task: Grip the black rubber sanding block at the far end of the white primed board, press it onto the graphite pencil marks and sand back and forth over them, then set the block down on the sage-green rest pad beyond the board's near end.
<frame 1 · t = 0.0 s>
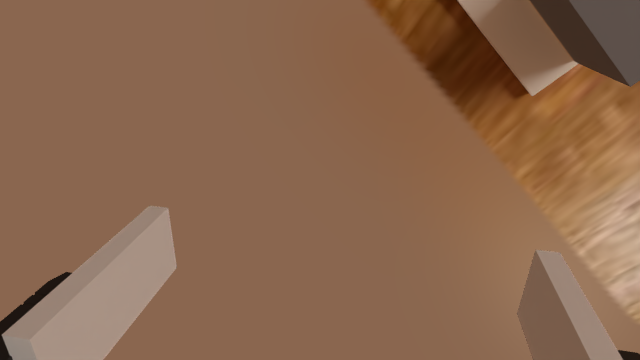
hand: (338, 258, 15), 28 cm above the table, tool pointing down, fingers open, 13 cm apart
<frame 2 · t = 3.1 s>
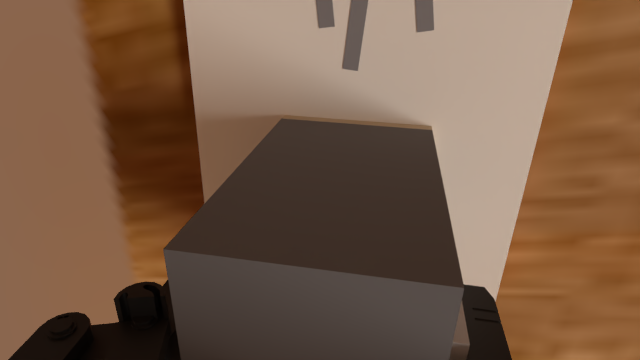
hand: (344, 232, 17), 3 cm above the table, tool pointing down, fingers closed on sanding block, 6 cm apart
primed board: (362, 52, 17), on the table
sanding block: (350, 206, 19), point 1 cm above the table, touching gripper, primed board
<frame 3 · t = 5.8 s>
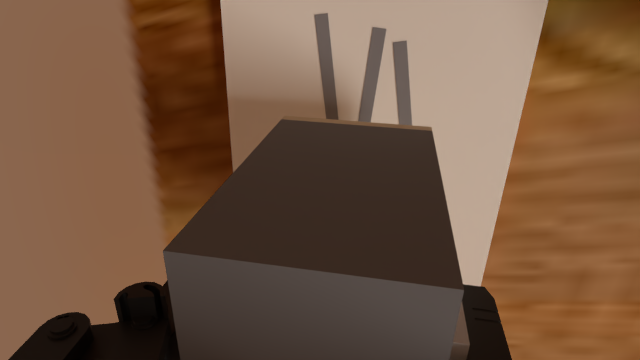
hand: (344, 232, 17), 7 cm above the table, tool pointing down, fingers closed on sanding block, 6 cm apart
primed board: (362, 170, 23), on the table
sanding block: (350, 207, 19), point 5 cm above the table, touching gripper
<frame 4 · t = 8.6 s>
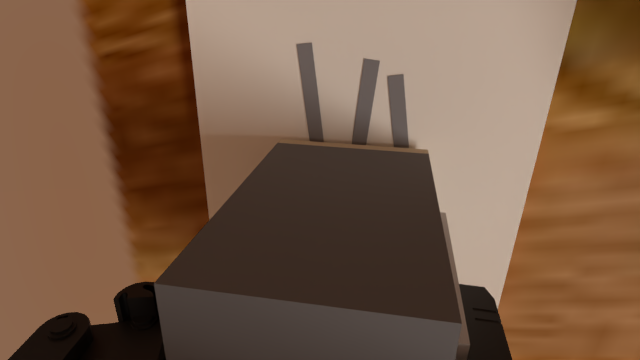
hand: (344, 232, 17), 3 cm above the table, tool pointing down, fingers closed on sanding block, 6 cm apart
primed board: (355, 214, 20), on the table
sanding block: (347, 230, 19), point 2 cm above the table, touching gripper
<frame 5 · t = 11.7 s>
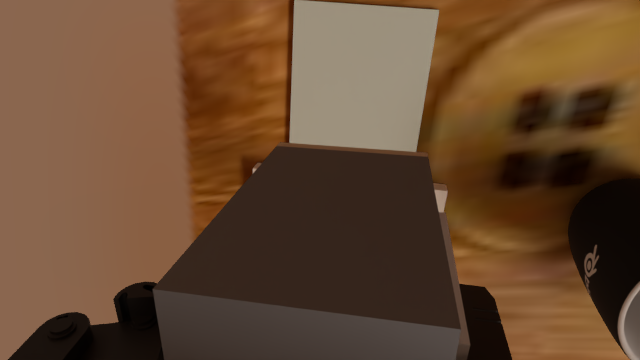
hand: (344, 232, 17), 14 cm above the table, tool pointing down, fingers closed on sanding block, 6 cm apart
primed board: (337, 292, 36), on the table
rest pad: (357, 84, 29), on the table
mug: (621, 236, 30), on the table
sanding block: (347, 233, 19), point 13 cm above the table, touching gripper
when the fingers open (4 cm above the table, at t = 14.3 s): sanding block drops 2 cm, resting on rest pad.
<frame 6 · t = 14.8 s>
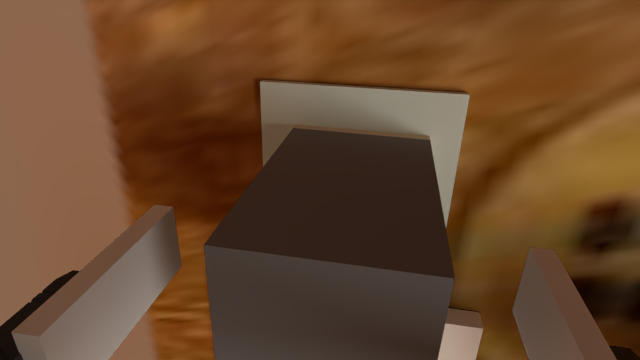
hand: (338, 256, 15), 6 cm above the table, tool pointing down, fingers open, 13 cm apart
rest pad: (354, 188, 21), on the table
sanding block: (355, 208, 21), resting on rest pad
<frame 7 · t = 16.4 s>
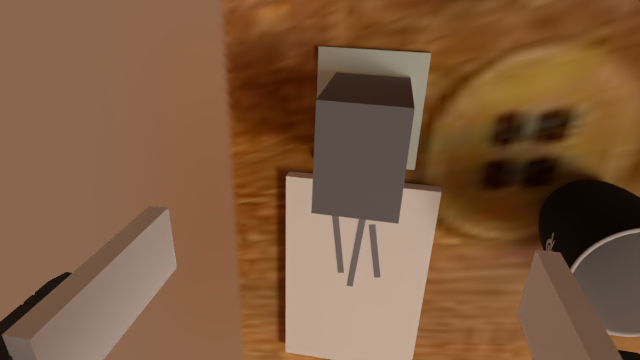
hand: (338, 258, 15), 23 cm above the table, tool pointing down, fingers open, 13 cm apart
primed board: (354, 275, 44), on the table
rest pad: (368, 109, 36), on the table
mug: (582, 225, 38), on the table
sanding block: (368, 120, 36), resting on rest pad
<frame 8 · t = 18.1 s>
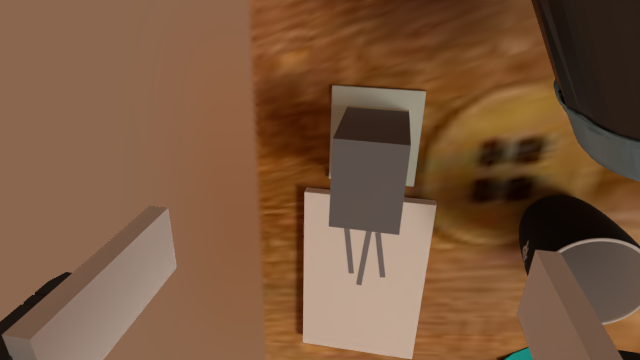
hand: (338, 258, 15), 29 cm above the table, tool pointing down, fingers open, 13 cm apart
primed board: (362, 275, 51), on the table
rest pad: (374, 136, 43), on the table
mug: (557, 233, 44), on the table
sanding block: (374, 146, 43), resting on rest pad
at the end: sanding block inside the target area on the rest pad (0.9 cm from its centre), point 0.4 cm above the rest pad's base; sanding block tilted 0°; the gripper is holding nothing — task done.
